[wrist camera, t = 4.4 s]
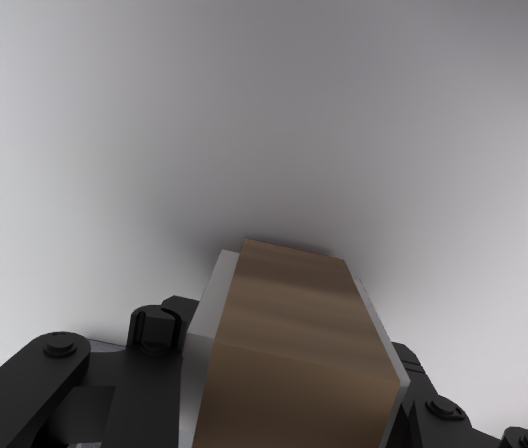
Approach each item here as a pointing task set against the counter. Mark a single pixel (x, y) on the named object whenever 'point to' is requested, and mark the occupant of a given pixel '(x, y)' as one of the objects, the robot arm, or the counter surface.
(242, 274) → the block
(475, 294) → the counter surface
